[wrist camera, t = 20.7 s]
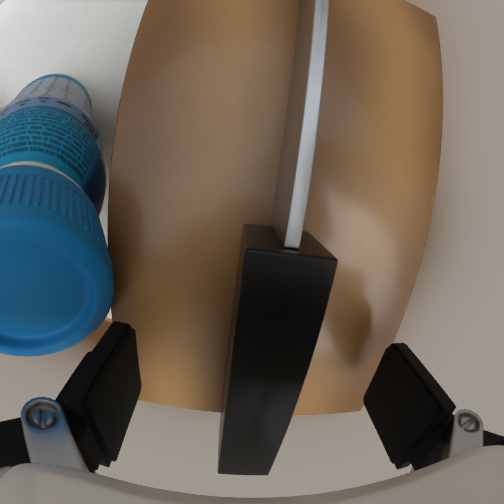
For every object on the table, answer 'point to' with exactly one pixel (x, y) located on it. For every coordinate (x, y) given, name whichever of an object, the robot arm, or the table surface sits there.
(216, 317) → the bread box
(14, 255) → the blue jar
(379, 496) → the robot arm
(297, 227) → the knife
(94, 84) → the table surface
